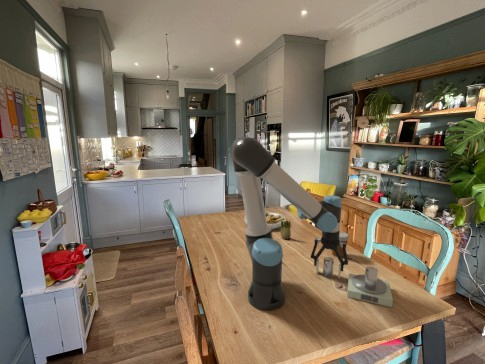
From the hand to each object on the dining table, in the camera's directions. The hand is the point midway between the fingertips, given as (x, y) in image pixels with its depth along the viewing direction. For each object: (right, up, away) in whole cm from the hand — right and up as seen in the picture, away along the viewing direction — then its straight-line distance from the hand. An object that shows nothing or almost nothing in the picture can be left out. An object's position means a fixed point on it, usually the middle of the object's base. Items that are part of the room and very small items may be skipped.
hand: (327, 274), depth 121 cm
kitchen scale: (+13, -3, -13) cm, 18 cm away
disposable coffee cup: (+12, +3, +20) cm, 24 cm away
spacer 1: (0, 0, 0) cm, 0 cm away
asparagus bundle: (-13, +8, +42) cm, 45 cm away
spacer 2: (+12, +1, -16) cm, 20 cm away
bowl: (-24, +12, +69) cm, 74 cm away
